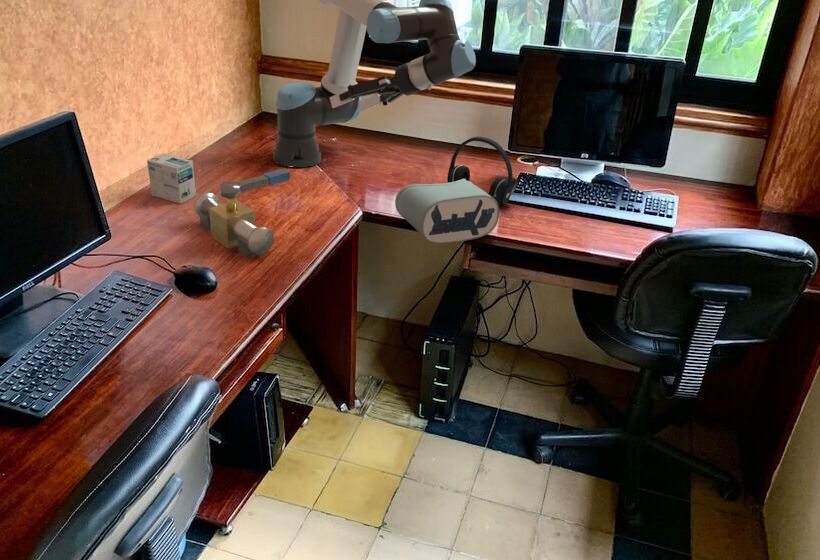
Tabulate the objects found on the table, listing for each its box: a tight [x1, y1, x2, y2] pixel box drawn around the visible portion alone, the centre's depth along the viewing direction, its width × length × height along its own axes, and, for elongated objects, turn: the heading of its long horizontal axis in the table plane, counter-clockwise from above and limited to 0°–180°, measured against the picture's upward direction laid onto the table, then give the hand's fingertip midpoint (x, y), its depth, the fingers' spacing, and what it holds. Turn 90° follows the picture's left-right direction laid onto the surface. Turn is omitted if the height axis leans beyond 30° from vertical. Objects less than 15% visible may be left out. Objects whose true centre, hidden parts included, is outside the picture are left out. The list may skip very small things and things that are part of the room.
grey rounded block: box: [394, 179, 500, 245], centre depth 195 cm, size 22×19×13 cm
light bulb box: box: [146, 152, 197, 205], centre depth 202 cm, size 11×7×11 cm, turn 65°
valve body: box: [193, 191, 275, 259], centre depth 183 cm, size 26×8×12 cm, turn 44°
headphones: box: [447, 136, 514, 206], centre depth 213 cm, size 20×7×18 cm, turn 55°
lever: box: [219, 168, 291, 199], centre depth 183 cm, size 19×5×2 cm, turn 134°
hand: (346, 104), depth 191 cm, fingers open, 13 cm apart
